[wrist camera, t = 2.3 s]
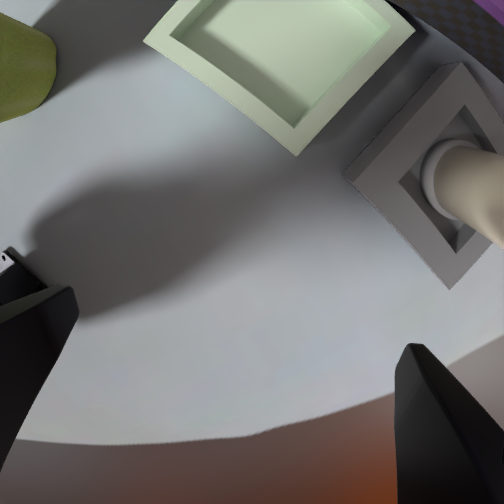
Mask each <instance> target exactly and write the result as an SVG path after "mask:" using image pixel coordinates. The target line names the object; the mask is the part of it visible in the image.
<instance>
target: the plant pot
mask: <svg viewBox="0 0 504 504" xmlns="http://www.w3.org/2000/svg"><path fill="white" fill-rule="evenodd" d="M56 52H57V50H56V46H55V44H54V42H53V41H52V39H51V38H50V37H49V36H48V35H46V34H44V33H42V32H40V31H38V30H36V29H34V28H32V27H30V26H28V25H26V24H24V23H22V22H20V21H17V20H15V19H13V18H11V17H9V16H7V15H5V14H3V13H0V123H1V122H4V121H7V120H10V119H13V118H16V117H19V116H22V115H25V114H27V113H29V112H31V111H33V110H34V109H36V108H37V107H38V106H39V105H40V104H41V103H42V102H43V100H44V99H45V98H46V96H47V95H48V93H49V91H50V89H51V87H52V85H53V82H54V80H55V76H56V71H57V70H56Z"/></svg>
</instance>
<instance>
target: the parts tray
mask: <svg viewBox="0 0 504 504" xmlns="http://www.w3.org/2000/svg"><path fill="white" fill-rule="evenodd" d="M414 32H415V29H414V28H413V27H412V26H411V25H410V24H409V23H408V22H407V21H406V20H405V19H404V18H403V17H402V16H401V15H400V14H399V13H398V12H397V11H396V10H394V9H393V8H392V7H391V6H390V5H389V4H388V3H387V2H386V1H385V0H178V1H177V2H176V3H175V4H174V5H173V6H172V7H171V8H170V10H169V11H168V12H167V13H166V14H165V15H164V16H163V17H162V19H161V20H160V21H159V22H158V23H157V24H156V26H155V27H154V28H153V29H152V30H151V31H150V33H149V34H148V35H147V36H146V38H145V39H144V40H143V42H144V43H146V44H147V45H149V46H151V47H152V48H154V49H155V50H157V51H158V52H160V53H161V54H163V55H164V56H166V57H167V58H169V59H170V60H172V61H173V62H174V63H176V64H177V65H179V66H180V67H182V68H183V69H185V70H186V71H187V72H189V73H190V74H192V75H193V76H194V77H196V78H197V79H199V80H200V81H201V82H203V83H204V84H205V85H207V86H208V87H210V88H211V89H212V90H214V91H215V92H216V93H218V94H219V95H220V96H222V97H223V98H224V99H226V100H227V101H228V102H229V103H231V104H232V105H233V106H235V107H236V108H237V109H239V110H240V111H241V112H242V113H244V114H245V115H246V116H247V117H249V118H250V119H251V120H252V121H254V122H255V123H256V124H257V125H259V126H260V127H261V128H262V129H263V130H265V131H266V132H267V133H268V134H270V135H271V136H272V137H273V138H274V139H276V140H277V141H278V142H279V143H280V144H281V145H283V146H284V147H285V148H286V149H287V150H289V151H290V152H291V153H292V154H293V155H294V156H295V157H297V156H298V155H299V154H300V152H301V151H302V150H303V149H304V148H305V147H306V146H307V145H308V144H309V142H310V141H311V140H312V139H313V138H314V137H315V136H316V135H317V134H318V133H319V132H320V130H321V129H322V128H323V127H324V126H325V125H326V124H327V123H328V122H329V121H330V120H331V118H332V117H333V116H334V115H335V114H336V113H337V112H338V111H339V110H340V109H341V108H342V107H343V106H344V104H345V103H346V102H347V101H348V100H349V99H350V98H351V97H352V96H353V95H354V94H355V93H356V92H357V91H358V90H359V89H360V87H361V86H362V85H363V84H364V83H365V82H366V81H367V80H368V79H369V78H370V77H371V76H372V75H373V74H374V73H375V72H376V71H377V70H378V69H379V67H380V66H381V65H382V64H383V63H384V62H385V61H386V60H387V59H388V58H389V57H390V56H391V55H392V54H393V53H394V52H395V51H396V50H397V49H398V48H399V47H400V46H401V45H402V44H403V43H404V42H405V41H406V40H407V39H408V38H409V37H410V36H411V35H412V34H413V33H414Z"/></svg>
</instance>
